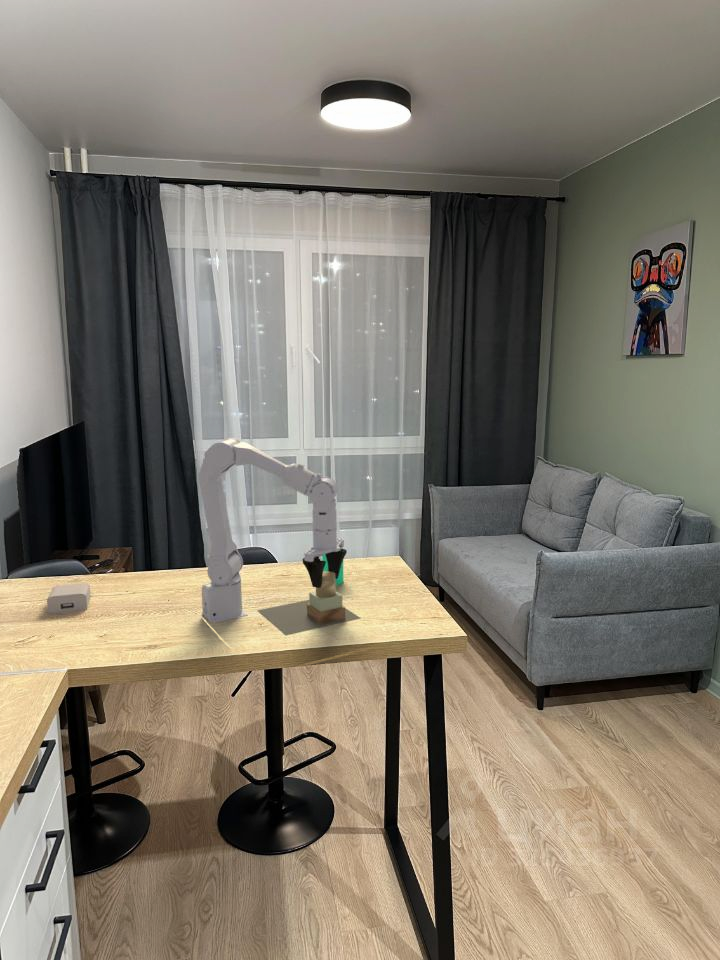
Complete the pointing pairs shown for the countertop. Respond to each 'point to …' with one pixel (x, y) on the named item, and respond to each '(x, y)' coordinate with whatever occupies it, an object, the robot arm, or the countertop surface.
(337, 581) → the candle
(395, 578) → the countertop surface
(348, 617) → the mat
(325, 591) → the tan rounded cylinder
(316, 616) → the tower base
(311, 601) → the tower top
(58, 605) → the charger
